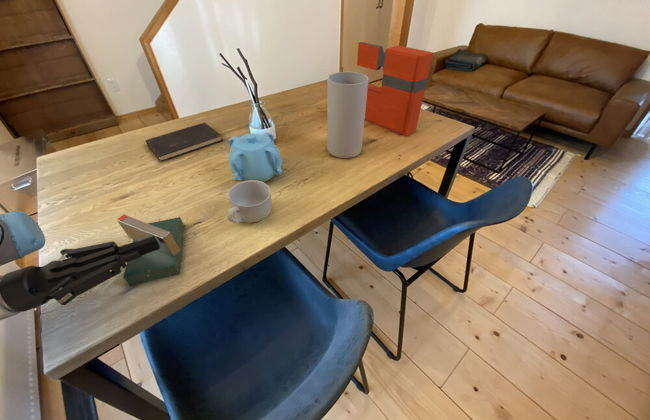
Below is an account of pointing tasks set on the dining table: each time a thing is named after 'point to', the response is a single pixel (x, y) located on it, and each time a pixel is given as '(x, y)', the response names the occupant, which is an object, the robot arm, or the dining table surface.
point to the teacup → (249, 201)
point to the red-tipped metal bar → (148, 234)
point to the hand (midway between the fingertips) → (156, 242)
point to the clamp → (395, 85)
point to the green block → (157, 257)
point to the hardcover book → (183, 141)
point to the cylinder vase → (346, 113)
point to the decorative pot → (254, 157)
